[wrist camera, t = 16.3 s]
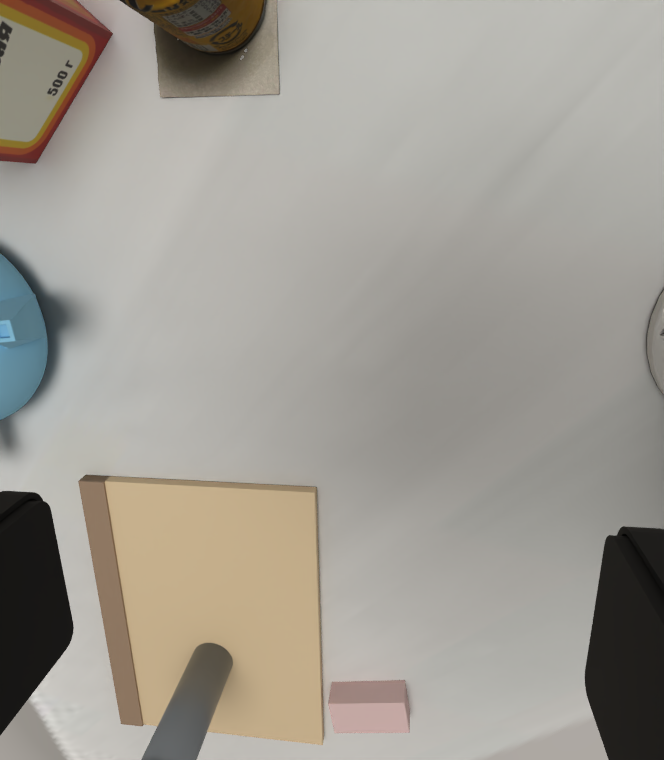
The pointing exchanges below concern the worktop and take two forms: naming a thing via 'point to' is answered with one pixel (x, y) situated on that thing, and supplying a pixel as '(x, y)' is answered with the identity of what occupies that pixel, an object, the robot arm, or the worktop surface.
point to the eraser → (369, 707)
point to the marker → (191, 705)
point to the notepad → (211, 597)
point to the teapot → (19, 340)
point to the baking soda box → (42, 69)
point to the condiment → (214, 46)
